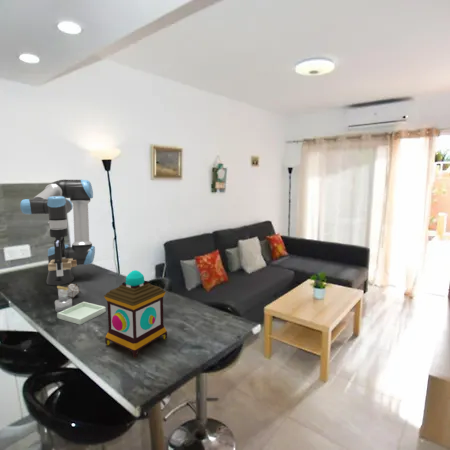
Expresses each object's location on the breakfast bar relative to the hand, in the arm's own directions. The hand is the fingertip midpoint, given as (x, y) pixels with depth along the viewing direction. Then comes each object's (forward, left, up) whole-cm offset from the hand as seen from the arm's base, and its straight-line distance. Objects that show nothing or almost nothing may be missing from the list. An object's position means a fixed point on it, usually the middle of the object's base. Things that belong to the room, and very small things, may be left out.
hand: (61, 272), depth 147 cm
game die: (-12, -9, -19) cm, 24 cm away
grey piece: (0, 0, -19) cm, 19 cm away
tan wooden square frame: (0, 0, +3) cm, 3 cm away
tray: (+1, +14, -19) cm, 23 cm away
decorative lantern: (+9, +54, -19) cm, 58 cm away
